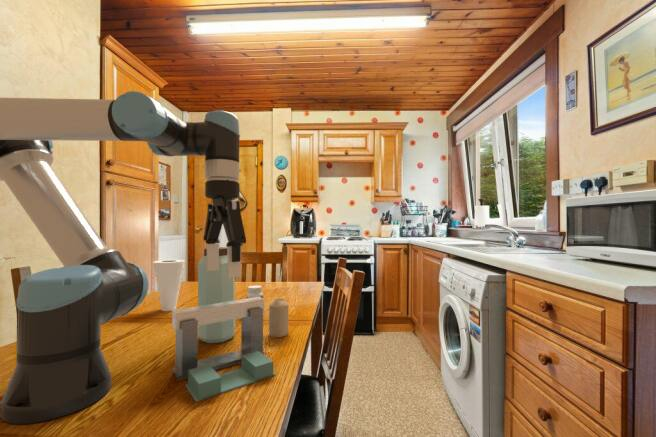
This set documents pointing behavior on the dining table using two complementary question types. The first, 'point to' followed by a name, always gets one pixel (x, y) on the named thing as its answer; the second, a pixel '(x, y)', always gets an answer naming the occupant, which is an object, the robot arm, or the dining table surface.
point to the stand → (189, 355)
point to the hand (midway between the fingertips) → (222, 273)
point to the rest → (228, 376)
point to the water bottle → (215, 297)
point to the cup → (168, 282)
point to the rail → (216, 312)
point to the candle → (278, 318)
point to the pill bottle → (254, 291)
